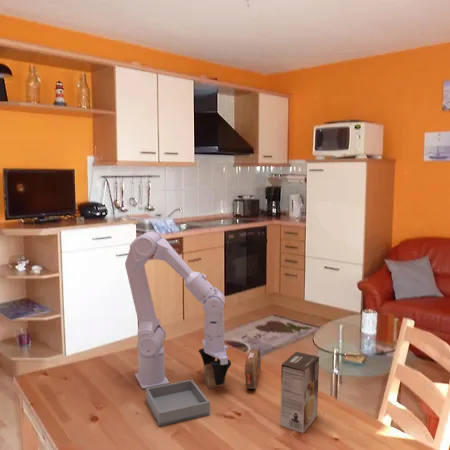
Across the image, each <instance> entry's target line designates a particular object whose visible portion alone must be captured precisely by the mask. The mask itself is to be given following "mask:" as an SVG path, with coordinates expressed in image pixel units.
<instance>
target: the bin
mask: <svg viewBox="0 0 450 450" xmlns="http://www.w3.org/2000/svg"><path fill="white" fill-rule="evenodd" d="M145 402H146V404H147V407H148V408H149V411H150V412H151V413H152V416H153V418H154V419H155V421H156V423H157V425H158V427H159V428H160V427H165V426H170V425H174V424H178V423H181V422H186V421H189V420H193V419H194V420H195V419H198V418H203V417H208V416H210V415H211V413H210V412H211V409H210V408H211V406H210V405H211V402H210V400H208V398H207V397H206V395H205V394H204V393H203V391H202V390H201V389H200V387H198V385H197V384H196V383H195V382H194V379H188V380H183V381H178V382H177V381H176V382H173V383H169V384H165V385H160V386H155V387H150V388H145Z"/></svg>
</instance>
